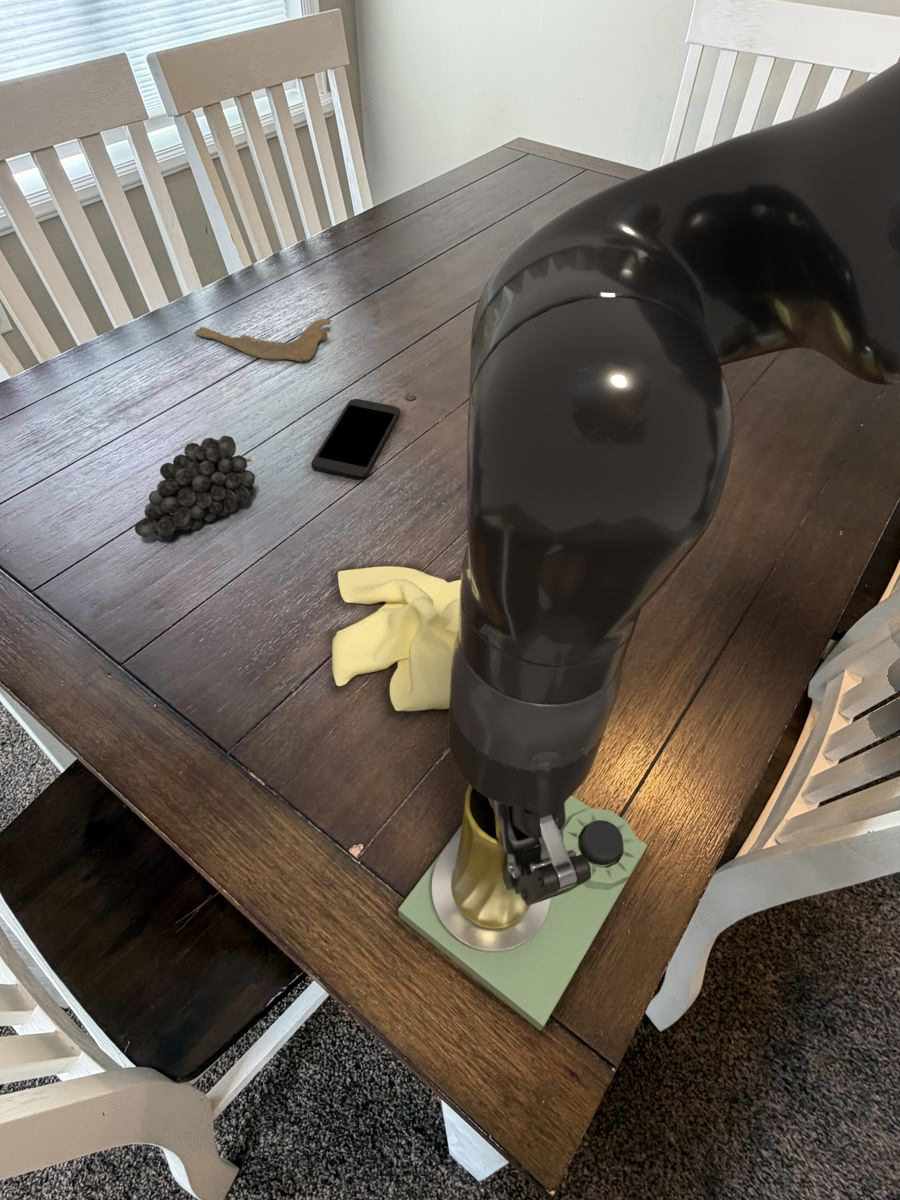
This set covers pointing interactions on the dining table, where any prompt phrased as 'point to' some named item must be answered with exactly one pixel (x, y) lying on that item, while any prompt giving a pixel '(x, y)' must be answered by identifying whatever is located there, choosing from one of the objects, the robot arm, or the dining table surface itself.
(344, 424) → the smartphone
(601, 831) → the button
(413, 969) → the dining table surface
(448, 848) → the weighing plate
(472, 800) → the vase
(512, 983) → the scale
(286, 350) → the jawbone
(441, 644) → the cloth
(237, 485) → the fruit
